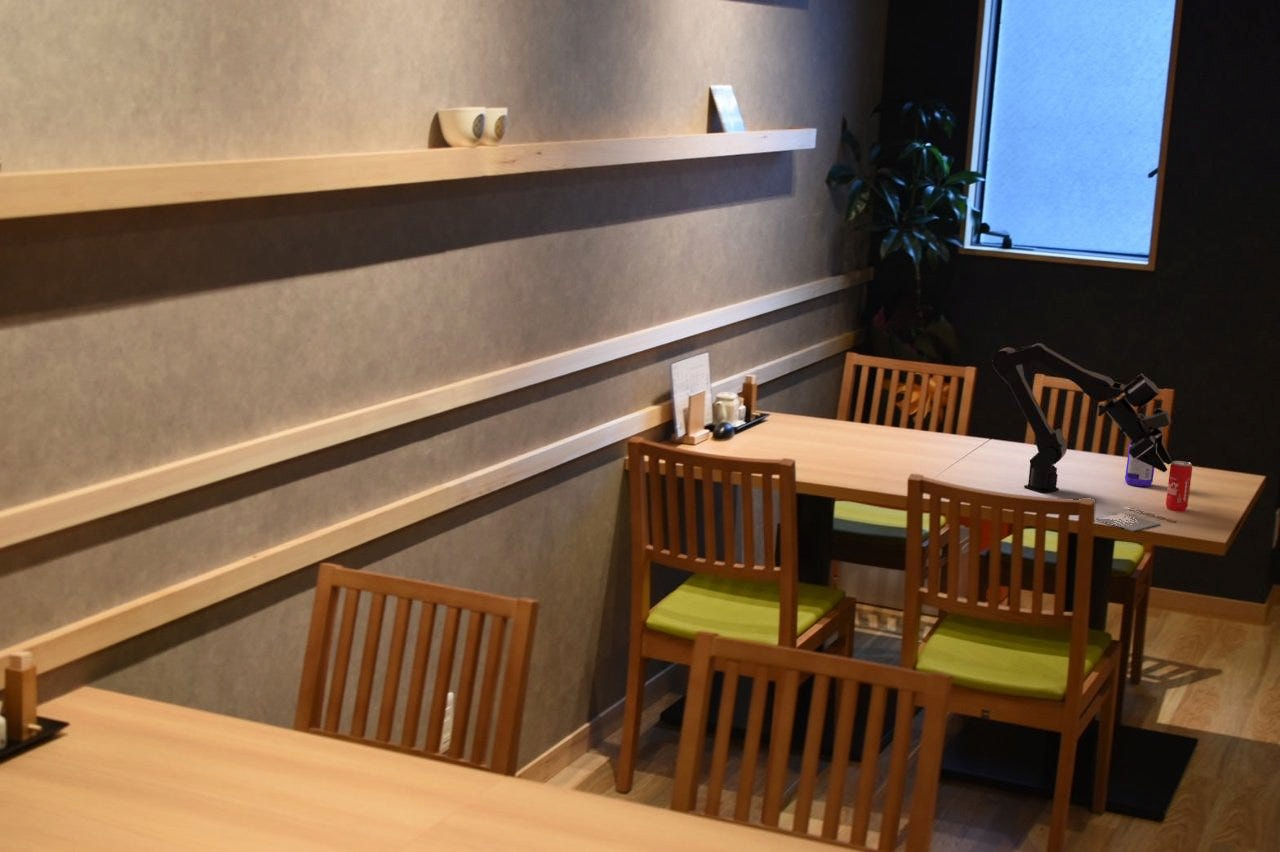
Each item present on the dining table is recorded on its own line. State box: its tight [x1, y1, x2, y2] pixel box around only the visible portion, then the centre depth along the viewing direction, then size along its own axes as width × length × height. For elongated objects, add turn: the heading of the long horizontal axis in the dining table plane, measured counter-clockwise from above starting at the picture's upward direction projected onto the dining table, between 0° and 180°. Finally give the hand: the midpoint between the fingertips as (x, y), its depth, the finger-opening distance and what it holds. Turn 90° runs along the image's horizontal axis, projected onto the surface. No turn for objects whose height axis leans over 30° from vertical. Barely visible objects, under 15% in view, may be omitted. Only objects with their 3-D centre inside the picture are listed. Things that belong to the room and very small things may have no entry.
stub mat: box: [1095, 513, 1161, 533], centre depth 369 cm, size 11×11×1 cm
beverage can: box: [1165, 460, 1193, 513], centre depth 382 cm, size 5×5×12 cm
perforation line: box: [1128, 506, 1177, 524], centre depth 376 cm, size 14×1×1 cm, turn 38°
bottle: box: [1124, 443, 1155, 488], centre depth 404 cm, size 7×6×17 cm
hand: (1168, 467), depth 382 cm, fingers open, 9 cm apart
